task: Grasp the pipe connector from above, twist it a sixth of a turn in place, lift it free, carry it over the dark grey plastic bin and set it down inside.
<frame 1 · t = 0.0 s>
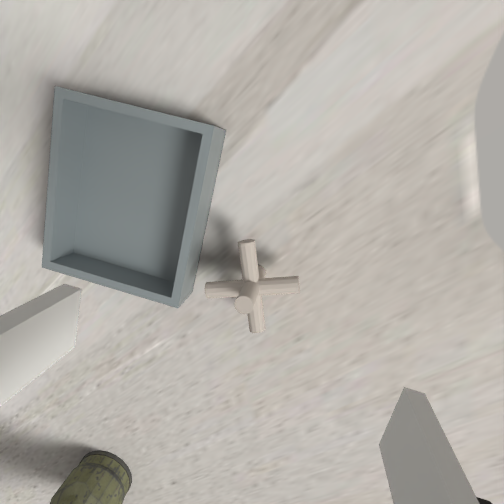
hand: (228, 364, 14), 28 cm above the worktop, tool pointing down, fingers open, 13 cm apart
thermos: (106, 473, 55), on the worktop
bin: (141, 198, 42), on the worktop
pipe connector: (258, 272, 42), on the worktop
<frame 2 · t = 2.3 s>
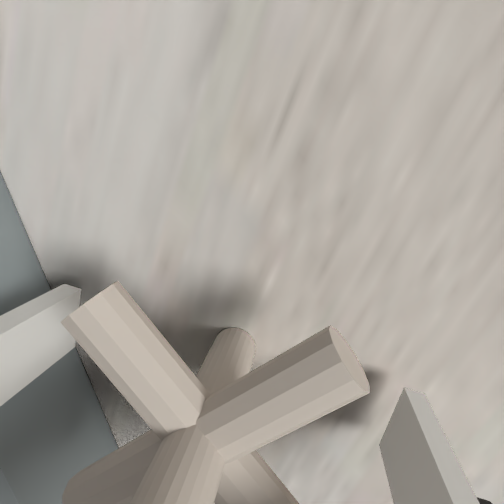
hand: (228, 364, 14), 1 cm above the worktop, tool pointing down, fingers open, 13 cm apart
pipe connector: (235, 344, 15), on the worktop
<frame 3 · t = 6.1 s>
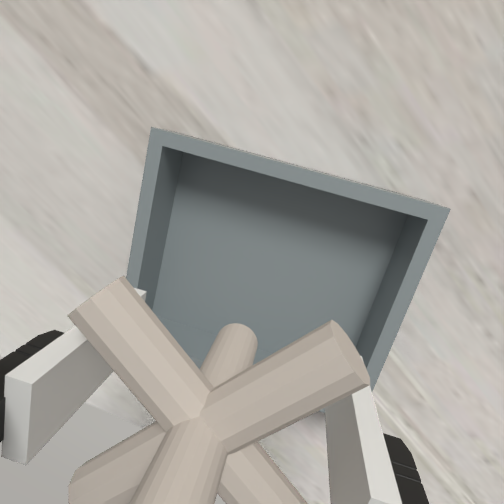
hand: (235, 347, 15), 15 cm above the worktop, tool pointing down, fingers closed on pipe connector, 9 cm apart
bin: (269, 264, 30), on the worktop
pipe connector: (238, 339, 15), point 15 cm above the worktop, touching gripper
when the fingers open (3 cm above the worktop, at t = 8.9 s): pipe connector drops 2 cm, resting on bin.
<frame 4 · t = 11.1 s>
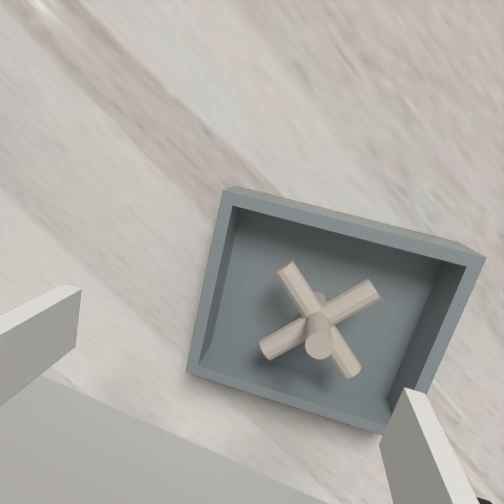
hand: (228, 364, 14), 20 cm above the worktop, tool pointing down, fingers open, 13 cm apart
bin: (317, 299, 33), on the worktop
pipe connector: (316, 300, 33), point 1 cm above the worktop, touching bin
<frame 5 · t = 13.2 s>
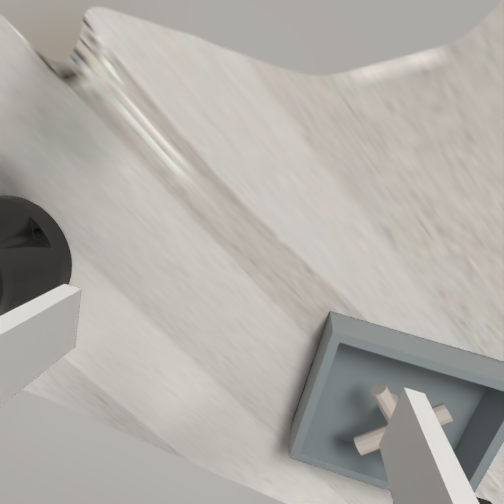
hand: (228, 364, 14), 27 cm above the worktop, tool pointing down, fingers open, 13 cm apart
bin: (389, 396, 42), on the worktop
pipe connector: (390, 398, 42), point 1 cm above the worktop, touching bin
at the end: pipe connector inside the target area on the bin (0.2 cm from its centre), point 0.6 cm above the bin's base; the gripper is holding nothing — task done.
